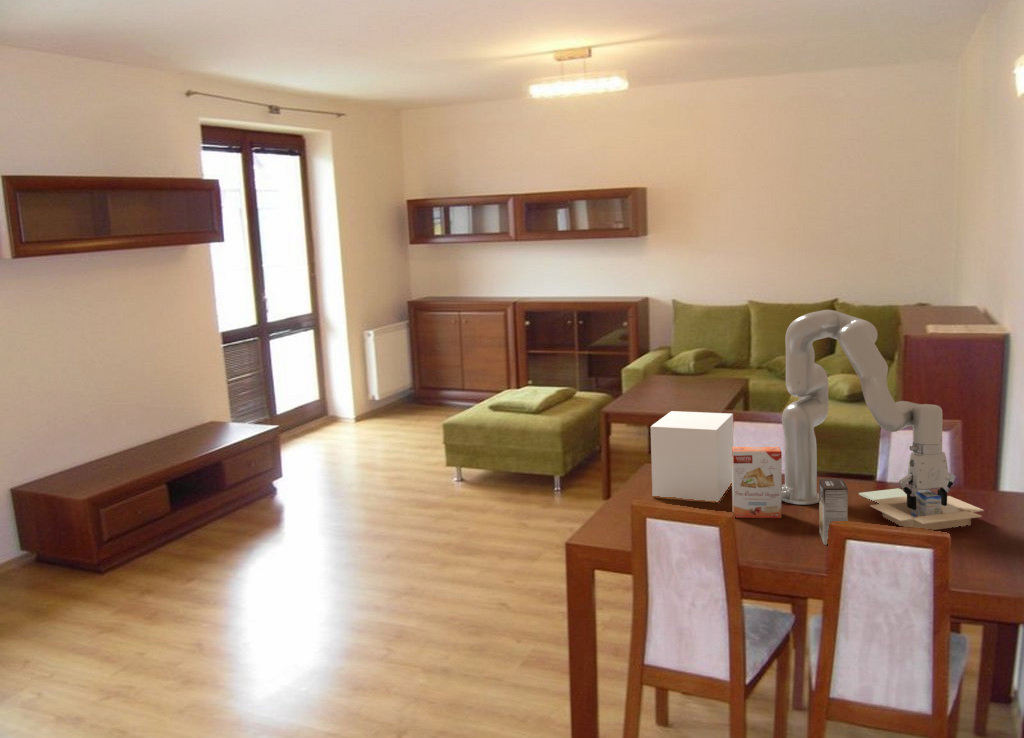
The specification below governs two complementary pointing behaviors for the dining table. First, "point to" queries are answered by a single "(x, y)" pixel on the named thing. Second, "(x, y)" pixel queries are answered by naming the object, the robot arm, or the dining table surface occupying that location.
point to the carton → (950, 515)
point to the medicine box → (926, 503)
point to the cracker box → (756, 482)
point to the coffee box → (831, 504)
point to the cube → (692, 455)
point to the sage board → (883, 494)
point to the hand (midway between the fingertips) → (927, 506)
